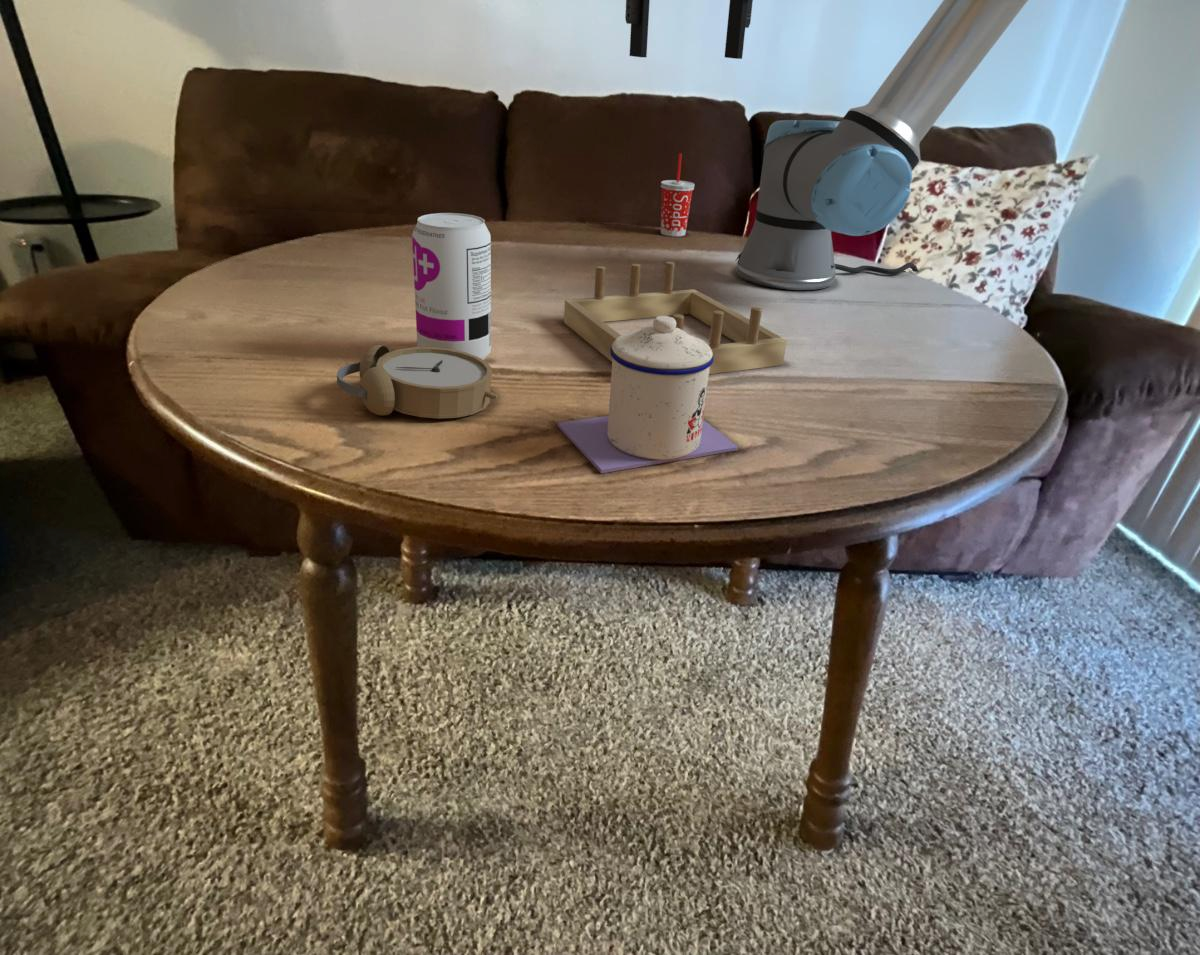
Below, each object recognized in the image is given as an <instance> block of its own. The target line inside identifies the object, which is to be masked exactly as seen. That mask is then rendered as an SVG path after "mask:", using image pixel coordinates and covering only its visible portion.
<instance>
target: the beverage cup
mask: <svg viewBox="0 0 1200 955" xmlns="http://www.w3.org/2000/svg"><path fill="white" fill-rule="evenodd" d="M682 157H683V153H678V160H677V172H676V180H675V179H666V180H662V181H660V188H661V206H660V207H661V208H660V234H661V235H663V236H667V237H684V236H686V232H687V227H688V220H689V215H690V208H691V203H692V202H691V201H692V196H693V191H694V190H695V187H696V186H695V183H694V182H691V181H686V180H680V177H681V167H682Z"/></svg>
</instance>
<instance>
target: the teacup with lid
mask: <svg viewBox="0 0 1200 955" xmlns="http://www.w3.org/2000/svg"><path fill="white" fill-rule="evenodd" d="M620 335H621V336H619V337H618V338H617V339H616V340H615V341H614V342H613V344H612V347H611V349H610V353H611V356H612V357H613V359H612V362H611V374H610V389H609V390H610V391H609V404H608V416H609V418H608V438H609V440H610V442H611V443H612V444H613V445H614V446H615V447H617V448H618V449H620V450H621V451H623V452H625V453H628V454H630V455H633V456H637V457H641V458H647V459H674V458H679V457H683V456H686V455H688V454H690V453H692V452H693V451H695V450H696V449H697V448H698V446H699V444H700V440H701V432H702V424H703V420H704V415H705V408H706V399H707V392H708V391H707V390H708V384H709V376H710V374H709V369H710V366H711V364H712V363H713V359H714V358H713V353H712V350H711V348H710V347H709V343H707V342H706V341H705V340H703V339H701V338H699V337H696V336H695V335H692V334H689V333H687V332H686V331H685V330H684V329H683V330H681V329H679V328H676V320H675V319H674V318H673V316H658V317H654V319H653V322H652V325H647V326H645V327H643V328H641V329H639V330H638V329H637V330H632V331H629V332H625V333H623V334H620Z"/></svg>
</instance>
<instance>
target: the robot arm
mask: <svg viewBox="0 0 1200 955" xmlns="http://www.w3.org/2000/svg"><path fill="white" fill-rule="evenodd" d="M753 1H754V0H729V6H728V15H727V16H728V17H727V27H726V38H725V48H724V58H726V59H727V58H728V59H736V60H737V59H738V60H742V59H743V54H744V45H745V44H744V43H745V35H746V28H747V29H748V28H749V27H750V25H751V21H752V20H751V19H752V10H753ZM1028 1H1029V0H942V1H941V3H940V4H939V6H938V7H937V9H936V10H935V12H934V13H933V14H932V16H931V17H930V18H929V19H928V21H926V22H927V23H925V25H923V26H924V27H923V28H922V29H921V30H920V32H919V33H918V34H917V36H916V37H915V38H914V40H913V41H912V43H911V44H910V46H908V48H907V49H906V51H905V52H904V53H903V55H902V56H901V58H900V59H899V61H898V62H897V63H896V65H895V66H894V67H893V69H892V70H891V72H890V73H889V74H888V76H887V77H886V79H884V80H883V82H882V83H881V85H880V86H879V88H878V89H877V91H876V92H875V93H874V95H873V96H872V97H871V99H870V100H869V101H868V103H867V104H865V105H860V106H857V107H856V106H855V107H852V108H850V109H849V110H848V111H847V112H846V114H845V115H844V116H843V117H842V119H841V120H840V121H837V120H820V119H819V120H818V119H817V120H816V119H813V120H812V119H785V120H784V119H783V120H776V121H773V122H772V123H771V124H770V126H769V128H768V131H767V135H766V140H765V143H764V145H763V159H762V165H761V172H760V181H759V188H758V196H757V197H758V198H757V203H756V211H755V216H754V217H755V218H754V223H753V227H752V229H751V231H750V233H749V234H748V237H747V239H746V242H745V244H744V246H743V248H742V250H741V252H740V253H739V254H738V255H737V257H736V259H735V261H736V269H735V272H736V275H737V276H739V277H740V278H741V279H743V280H745V281H747V282H749V283H752V284H755V285H760V286H764V287H769V288H773V289H782V290H788V291H789V290H791V291H813V290H814V291H815V290H822V289H826V288H830V287H831V286H832V285H833V284H834V283H835V278H836V270H838V271H842V272H844V273H845V272H846V273H850V274H859V273H861V272H873V273H878V274H881V275H882V274H883V275H898V274H901V273H903V272H904V271H906V270H908V269H911V271H912V272H914V273H919V268H918V267H917V265H916V264H915V263H914V262H906V263H904V264H903V265H902V266H900V267H897V268H884V267H880V266H874V265H859V266H857V267H851V266H847V265H843V264H838V263H835V256H834V246H833V238H832V232H834V233H837V234H843V235H847V236H852V237H861V236H866V235H871V234H874V233H876V232H878V231H881V230H882V229H884V228H886V227H887V226H889V225H890V224H891V223H892V222H893V221H894V220H896V218H898V217H899V215H900V214H901V213H902V211H903V210H904V208H905V207H906V205H907V203H908V201H909V198H910V195H911V192H912V189H911V184H912V183H913V171H914V169H915V168H916V167H917V165H918V164H919V163H920V161H921V148H920V143H921V141H922V140H923V139H924V138H925V136H926V135H927V133H929V131H930V130H931V128H932V127H933V125H934V124H935V123H936V122H937V121H938V119H939V118H940V116H941V115H942V114H943V112H944V111H945V110H946V109H947V107H948V106H949V105H950V104H951V102H952V101H953V99H954V98H955V97H956V96H957V94H958V93H959V91H961V89H962V88H963V87H964V85H965V84H966V82H967V81H968V80H969V78H971V77H972V74H974V72H975V71H976V70H977V68H978V67H979V65H980V64H981V63H982V61H983V60H984V59H985V57H986V56H988V54H989V52H991V49H992V48H993V47H994V46H995V44H996V43H997V42H998V40H999V39H1000V38H1001V37H1002V35H1003V34H1004V33H1005V31H1006V30H1007V29H1008V27H1009V26H1010V24H1011V23H1012V22H1013V21H1014V19H1015V18H1016V17H1017V16H1018V15H1019V13H1020V11H1021V10H1022V9H1023V8H1024V7H1025V5H1026V4H1027V2H1028ZM650 2H651V1H650V0H625V15H624V16H625V17H624V18H625V23H626V24H630V38H629V39H630V40H629V57H634V58H635V57H636V58H648V57H647V53H648V40H649V39H648V38H649V37H648V36H649V34H648V33H649V20H650V18H649V17H650Z"/></svg>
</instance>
